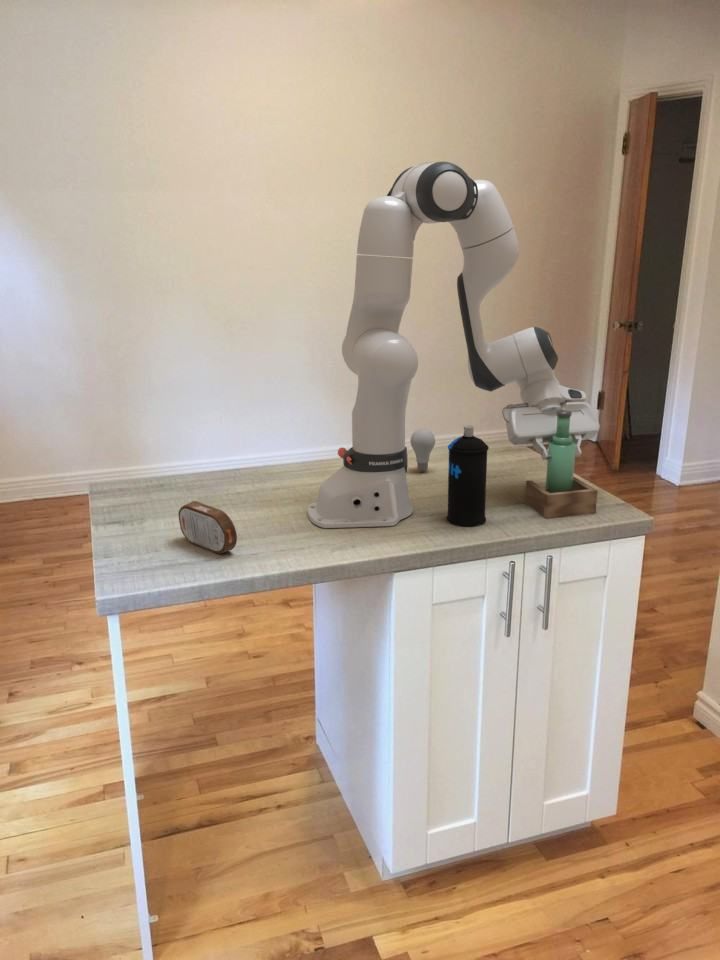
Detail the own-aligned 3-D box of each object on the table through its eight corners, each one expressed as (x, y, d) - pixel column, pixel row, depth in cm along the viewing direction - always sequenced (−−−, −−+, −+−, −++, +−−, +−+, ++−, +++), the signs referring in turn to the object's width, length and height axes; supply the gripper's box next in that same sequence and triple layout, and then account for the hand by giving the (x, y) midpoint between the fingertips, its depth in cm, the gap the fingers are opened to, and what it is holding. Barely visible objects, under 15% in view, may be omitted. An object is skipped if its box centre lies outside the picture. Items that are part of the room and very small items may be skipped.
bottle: (552, 506, 167) (558, 415, 161) (540, 498, 172) (545, 409, 166) (576, 504, 168) (582, 413, 162) (563, 496, 173) (569, 408, 167)
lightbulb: (422, 466, 201) (423, 424, 197) (439, 471, 196) (440, 429, 193) (405, 471, 197) (405, 428, 194) (422, 476, 192) (422, 433, 189)
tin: (239, 554, 148) (236, 512, 146) (226, 560, 146) (223, 517, 143) (190, 536, 158) (187, 496, 155) (177, 540, 156) (174, 500, 153)
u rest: (546, 518, 164) (547, 495, 162) (524, 502, 173) (526, 481, 172) (595, 512, 166) (597, 490, 165) (572, 497, 176) (573, 476, 174)
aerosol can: (485, 513, 167) (488, 421, 161) (487, 527, 159) (490, 431, 153) (446, 512, 168) (447, 421, 162) (446, 526, 160) (448, 431, 154)
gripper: (504, 397, 167) (522, 453, 161) (591, 391, 172) (612, 445, 166) (495, 413, 173) (512, 468, 167) (580, 407, 178) (599, 460, 171)
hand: (562, 457), depth 166 cm, fingers closed on bottle, 5 cm apart
